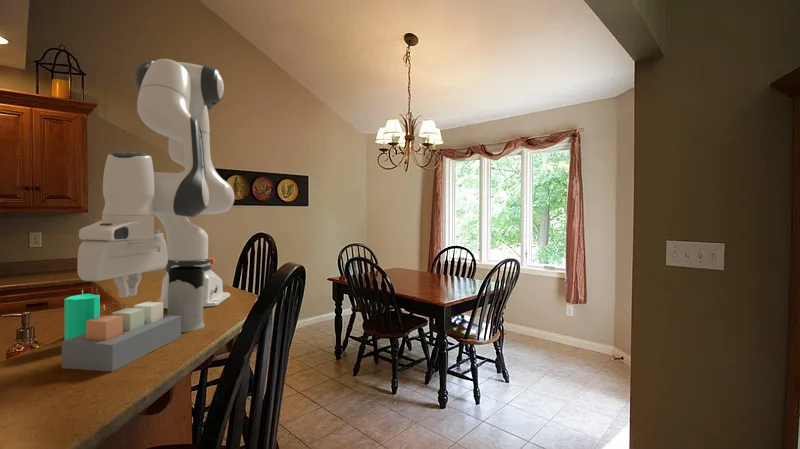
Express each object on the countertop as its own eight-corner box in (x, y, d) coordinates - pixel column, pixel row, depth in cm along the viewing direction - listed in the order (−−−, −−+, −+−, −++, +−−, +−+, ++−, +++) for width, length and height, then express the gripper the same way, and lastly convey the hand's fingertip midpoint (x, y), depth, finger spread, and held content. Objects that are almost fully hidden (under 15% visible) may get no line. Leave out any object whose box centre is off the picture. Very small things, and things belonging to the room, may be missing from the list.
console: (140, 334, 93) (140, 313, 93) (180, 337, 93) (181, 315, 92) (61, 368, 73) (61, 341, 73) (112, 371, 73) (112, 344, 73)
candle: (80, 350, 82) (80, 293, 82) (56, 347, 83) (56, 291, 83) (106, 341, 88) (107, 287, 88) (84, 339, 89) (84, 286, 89)
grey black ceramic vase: (157, 332, 96) (158, 270, 95) (186, 316, 110) (187, 262, 109) (195, 332, 96) (196, 271, 96) (218, 317, 110) (219, 263, 110)
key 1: (103, 345, 79) (103, 315, 79) (122, 346, 79) (122, 316, 79) (86, 352, 75) (86, 320, 75) (106, 353, 75) (106, 321, 75)
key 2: (146, 327, 91) (146, 301, 91) (163, 328, 91) (163, 302, 91) (133, 332, 87) (133, 305, 87) (150, 333, 87) (151, 306, 87)
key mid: (126, 335, 85) (126, 307, 85) (144, 336, 85) (144, 308, 85) (111, 341, 81) (111, 312, 81) (130, 342, 81) (130, 313, 81)
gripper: (149, 227, 93) (148, 286, 93) (70, 230, 72) (69, 306, 72) (175, 228, 92) (174, 288, 92) (103, 231, 72) (101, 307, 72)
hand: (127, 296), depth 82 cm, fingers closed
